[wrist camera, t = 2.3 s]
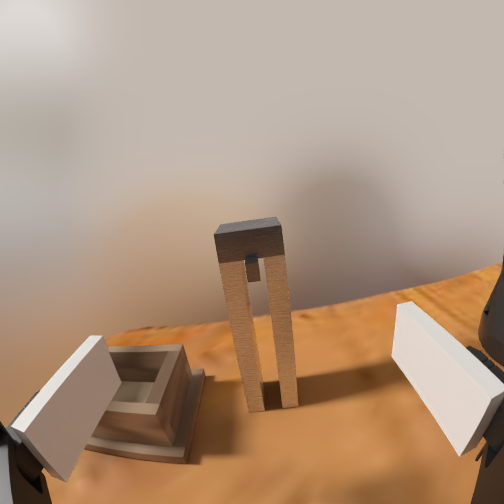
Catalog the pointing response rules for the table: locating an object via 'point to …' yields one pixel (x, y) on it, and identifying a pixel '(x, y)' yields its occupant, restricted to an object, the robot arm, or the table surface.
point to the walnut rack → (150, 405)
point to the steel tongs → (239, 307)
